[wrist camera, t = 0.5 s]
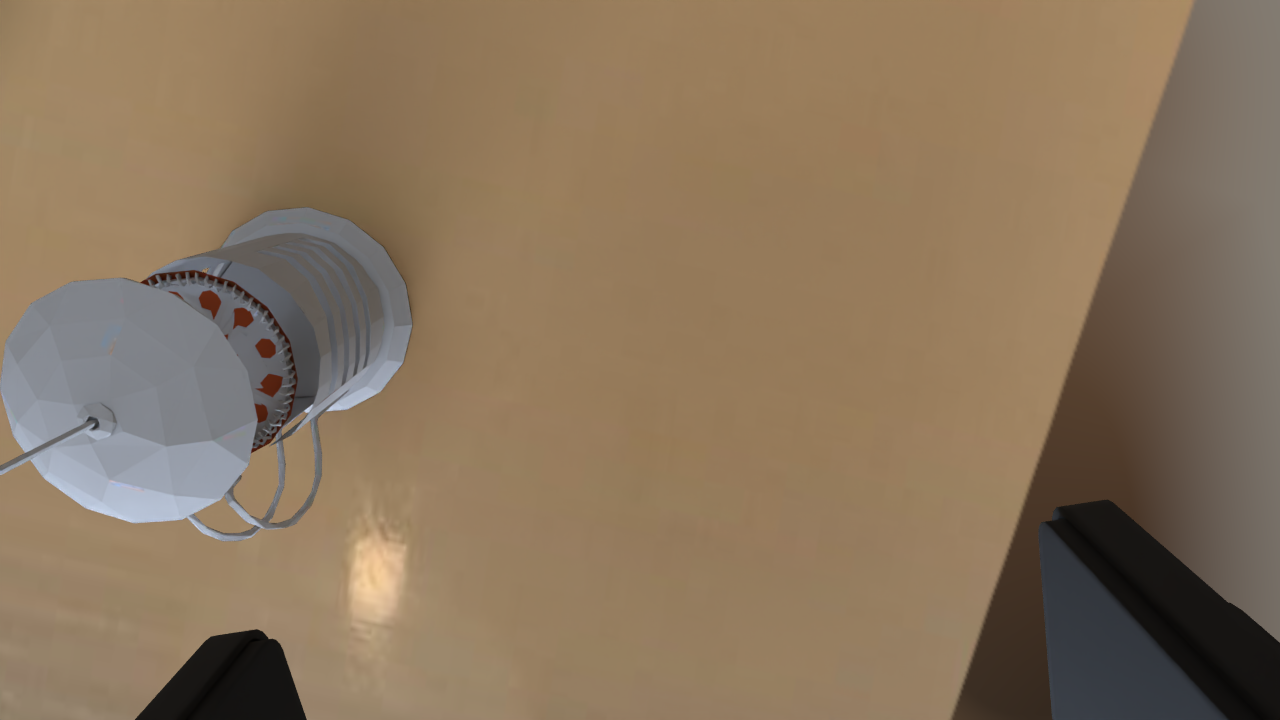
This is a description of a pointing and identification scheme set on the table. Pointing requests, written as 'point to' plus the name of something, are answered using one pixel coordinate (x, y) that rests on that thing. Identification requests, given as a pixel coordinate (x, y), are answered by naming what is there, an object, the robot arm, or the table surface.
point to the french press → (203, 366)
